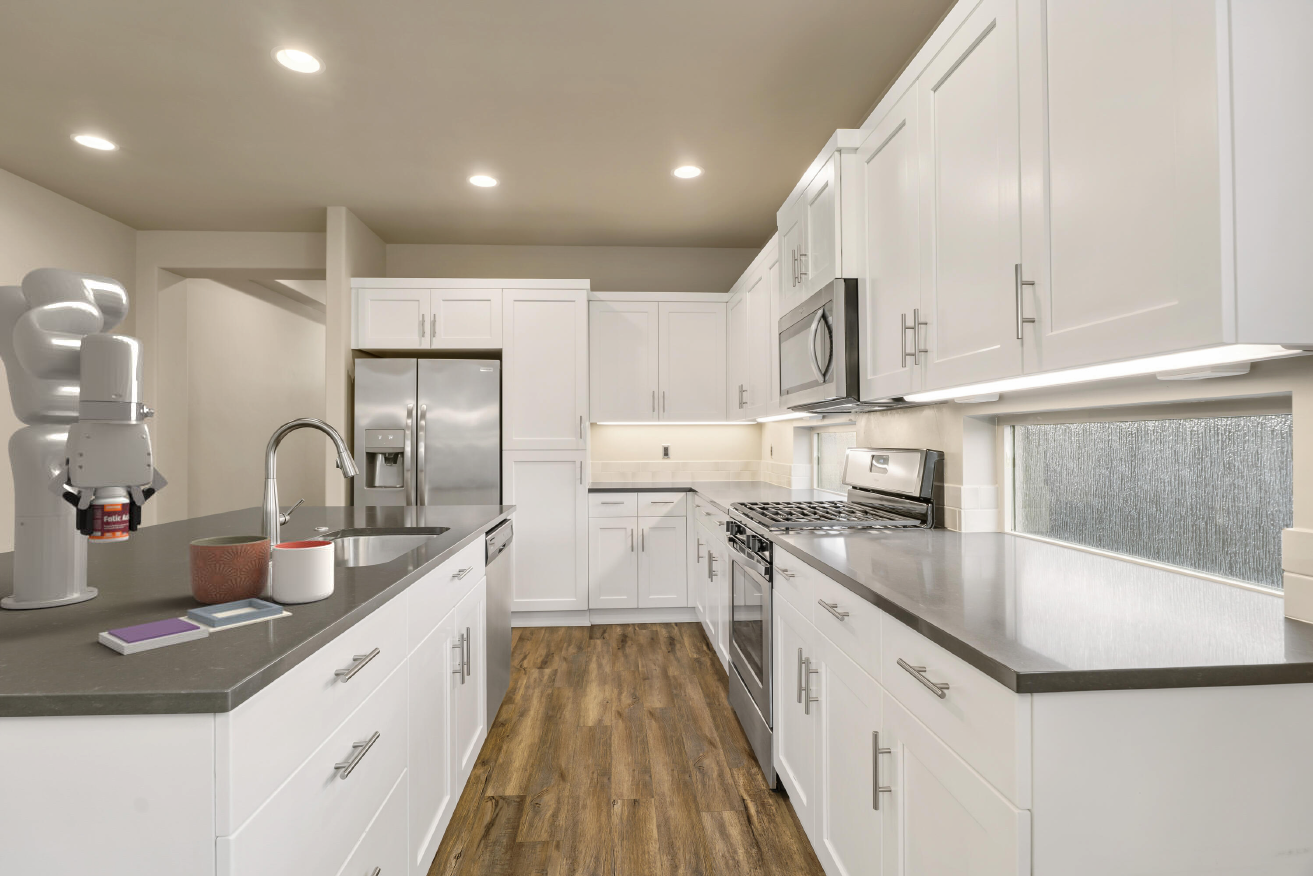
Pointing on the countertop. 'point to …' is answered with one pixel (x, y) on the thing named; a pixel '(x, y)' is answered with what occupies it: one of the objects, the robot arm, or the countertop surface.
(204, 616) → the square tray
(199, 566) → the planter
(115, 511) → the pill bottle
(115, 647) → the ink pad
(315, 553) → the cup
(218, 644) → the countertop surface
